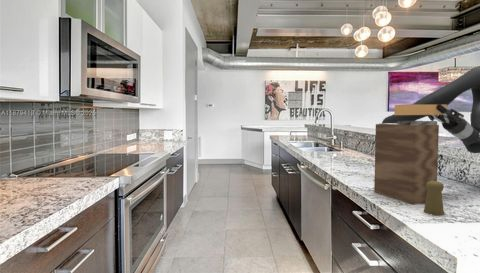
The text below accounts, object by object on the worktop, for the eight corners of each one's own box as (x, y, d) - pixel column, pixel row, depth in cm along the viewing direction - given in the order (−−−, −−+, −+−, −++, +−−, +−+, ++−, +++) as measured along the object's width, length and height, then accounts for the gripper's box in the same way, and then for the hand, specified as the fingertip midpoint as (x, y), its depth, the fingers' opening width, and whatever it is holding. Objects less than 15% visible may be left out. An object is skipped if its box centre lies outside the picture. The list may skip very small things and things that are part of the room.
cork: (441, 210, 110) (442, 180, 109) (446, 216, 104) (447, 183, 103) (421, 209, 112) (422, 179, 111) (425, 214, 106) (427, 182, 105)
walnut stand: (412, 204, 118) (415, 121, 115) (374, 192, 137) (375, 120, 134) (436, 201, 121) (439, 120, 119) (395, 189, 140) (397, 120, 138)
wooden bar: (403, 115, 118) (404, 104, 117) (394, 115, 122) (394, 104, 122) (446, 114, 125) (446, 104, 124) (436, 114, 129) (436, 104, 129)
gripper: (445, 118, 137) (420, 99, 132) (478, 119, 124) (452, 97, 118) (438, 133, 136) (412, 114, 131) (471, 135, 123) (444, 114, 118)
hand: (431, 106), depth 125 cm, fingers closed on wooden bar, 4 cm apart
